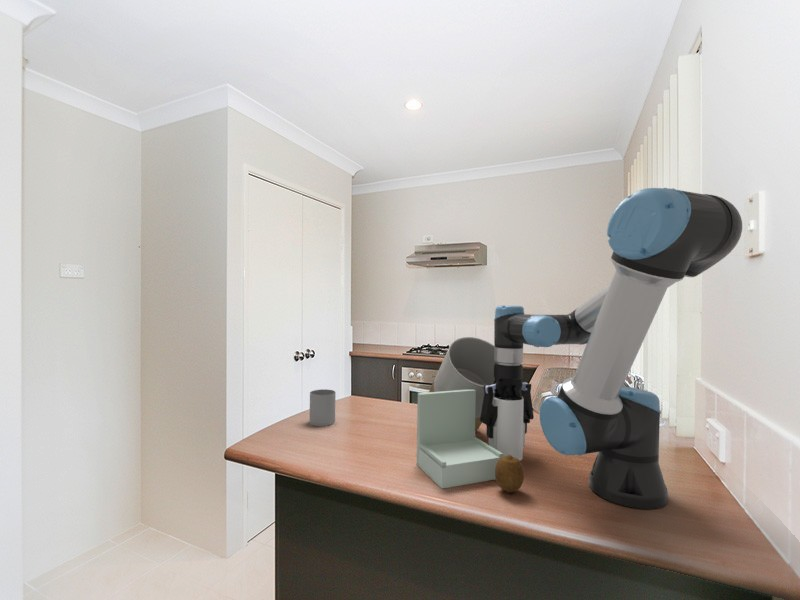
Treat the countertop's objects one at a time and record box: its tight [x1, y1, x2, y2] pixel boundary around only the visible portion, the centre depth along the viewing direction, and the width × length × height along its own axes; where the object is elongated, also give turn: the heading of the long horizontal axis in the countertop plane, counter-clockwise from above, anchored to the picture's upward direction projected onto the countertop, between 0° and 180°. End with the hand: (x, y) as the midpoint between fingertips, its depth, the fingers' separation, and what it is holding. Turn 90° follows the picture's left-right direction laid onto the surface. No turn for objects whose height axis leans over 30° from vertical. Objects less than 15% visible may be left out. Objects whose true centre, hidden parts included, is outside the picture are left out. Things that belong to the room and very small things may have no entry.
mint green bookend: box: [416, 389, 503, 489], centre depth 101 cm, size 14×16×18 cm
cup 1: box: [309, 388, 337, 427], centre depth 138 cm, size 8×8×10 cm
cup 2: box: [492, 394, 524, 462], centre depth 110 cm, size 8×8×16 cm
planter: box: [428, 336, 496, 432], centre depth 125 cm, size 19×19×26 cm
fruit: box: [495, 455, 525, 493], centre depth 90 cm, size 6×6×8 cm
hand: (506, 447), depth 111 cm, fingers closed on cup 2, 8 cm apart
